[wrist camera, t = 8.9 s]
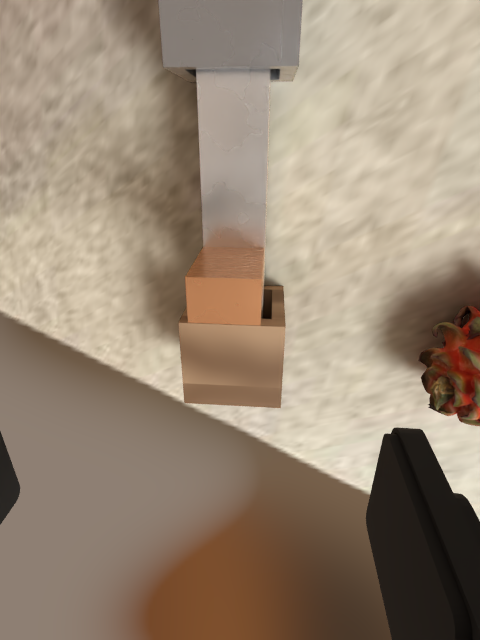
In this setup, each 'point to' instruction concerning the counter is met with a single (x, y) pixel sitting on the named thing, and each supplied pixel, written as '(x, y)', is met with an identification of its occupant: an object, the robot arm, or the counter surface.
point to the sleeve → (231, 36)
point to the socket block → (235, 358)
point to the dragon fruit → (455, 368)
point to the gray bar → (231, 197)
